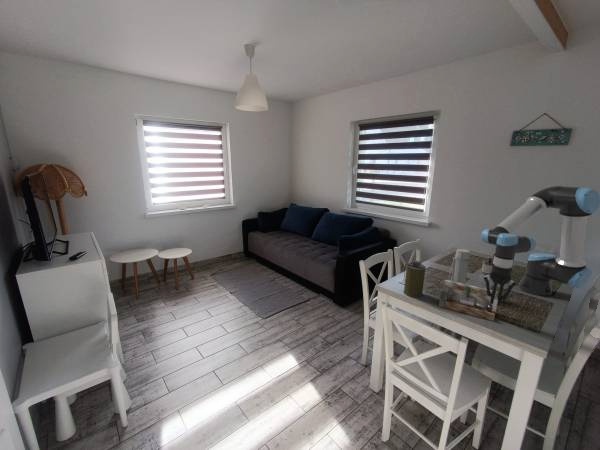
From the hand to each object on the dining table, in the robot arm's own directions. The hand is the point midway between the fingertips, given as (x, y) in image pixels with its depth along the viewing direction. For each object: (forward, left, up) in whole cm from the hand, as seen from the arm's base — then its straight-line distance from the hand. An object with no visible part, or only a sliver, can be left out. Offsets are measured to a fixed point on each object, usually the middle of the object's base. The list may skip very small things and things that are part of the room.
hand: (493, 310), depth 132 cm
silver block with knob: (+8, 0, -2) cm, 8 cm away
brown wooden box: (+12, 0, -3) cm, 12 cm away
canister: (+38, -2, -4) cm, 39 cm away
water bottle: (+18, -23, -4) cm, 29 cm away
